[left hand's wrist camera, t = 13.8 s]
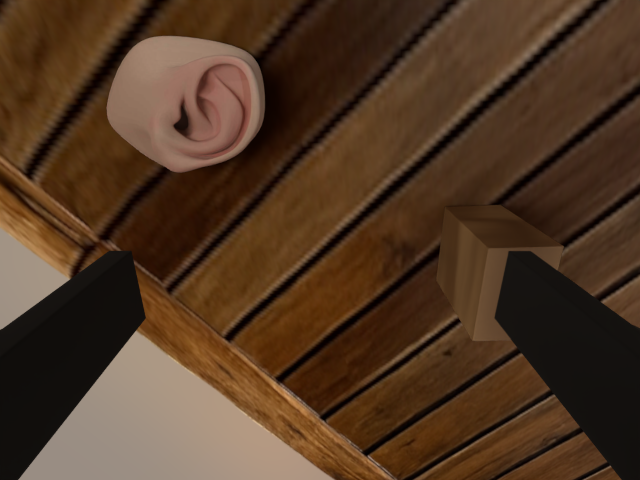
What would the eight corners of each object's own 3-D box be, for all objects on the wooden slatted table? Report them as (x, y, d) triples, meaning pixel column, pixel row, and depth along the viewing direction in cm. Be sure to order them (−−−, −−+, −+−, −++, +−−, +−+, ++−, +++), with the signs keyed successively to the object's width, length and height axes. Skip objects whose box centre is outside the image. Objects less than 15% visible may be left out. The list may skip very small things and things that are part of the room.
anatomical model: (78, 156, 29) (83, -6, 24) (105, 149, 32) (114, 6, 28) (240, 202, 30) (272, 57, 26) (248, 189, 34) (277, 60, 30)
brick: (436, 280, 38) (472, 341, 29) (444, 206, 35) (488, 248, 26) (487, 279, 38) (539, 339, 29) (500, 204, 35) (564, 246, 26)
